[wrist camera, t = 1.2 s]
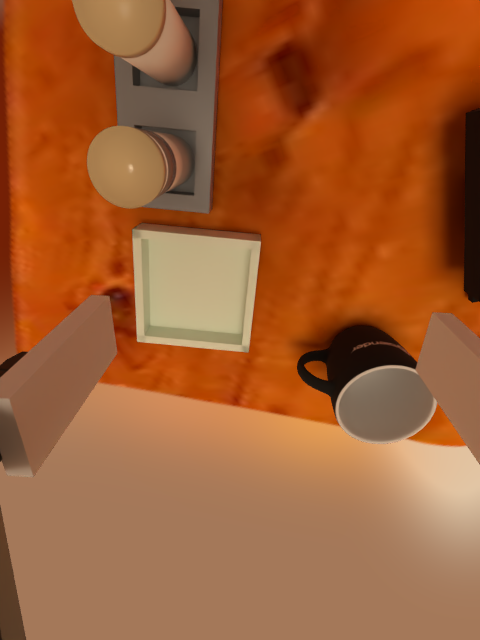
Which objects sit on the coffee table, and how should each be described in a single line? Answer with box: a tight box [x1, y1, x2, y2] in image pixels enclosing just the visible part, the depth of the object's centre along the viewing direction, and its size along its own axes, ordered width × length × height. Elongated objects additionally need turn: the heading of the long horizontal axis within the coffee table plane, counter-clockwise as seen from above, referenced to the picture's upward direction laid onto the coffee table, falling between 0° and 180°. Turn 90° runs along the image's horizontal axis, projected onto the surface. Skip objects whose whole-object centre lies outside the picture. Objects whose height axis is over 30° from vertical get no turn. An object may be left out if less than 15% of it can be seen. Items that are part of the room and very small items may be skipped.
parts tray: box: [132, 223, 261, 352], centre depth 37 cm, size 12×12×3 cm
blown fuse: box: [87, 126, 194, 208], centre depth 27 cm, size 5×5×13 cm
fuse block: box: [72, 0, 223, 213], centre depth 26 cm, size 16×8×13 cm, turn 175°
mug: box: [297, 326, 437, 444], centre depth 37 cm, size 12×9×10 cm
